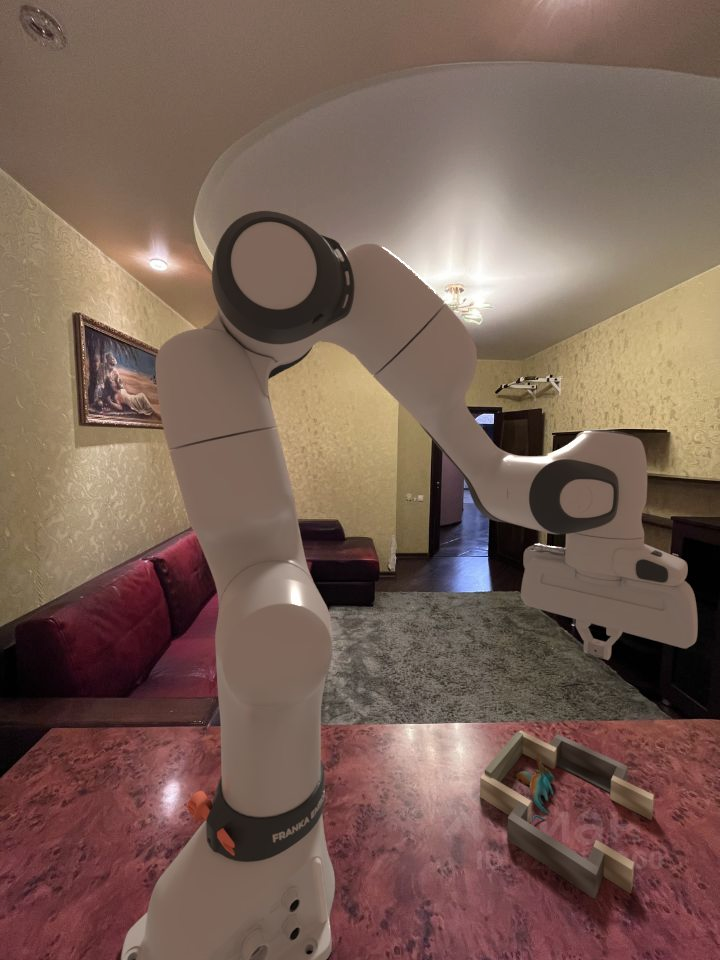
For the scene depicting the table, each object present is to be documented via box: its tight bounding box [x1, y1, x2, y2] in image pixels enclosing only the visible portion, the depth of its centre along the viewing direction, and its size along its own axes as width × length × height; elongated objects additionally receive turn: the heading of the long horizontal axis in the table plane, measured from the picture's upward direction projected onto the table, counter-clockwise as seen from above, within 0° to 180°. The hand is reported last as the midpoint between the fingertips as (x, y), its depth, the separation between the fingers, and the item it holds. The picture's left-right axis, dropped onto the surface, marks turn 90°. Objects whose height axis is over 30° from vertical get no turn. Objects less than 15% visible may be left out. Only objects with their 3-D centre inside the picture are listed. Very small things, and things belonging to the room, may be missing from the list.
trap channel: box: [479, 729, 655, 900], centre depth 59 cm, size 19×22×4 cm
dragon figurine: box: [514, 753, 555, 822], centre depth 60 cm, size 7×7×8 cm
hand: (597, 655), depth 55 cm, fingers closed
